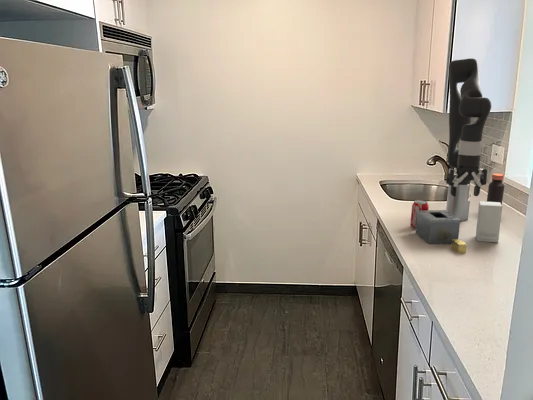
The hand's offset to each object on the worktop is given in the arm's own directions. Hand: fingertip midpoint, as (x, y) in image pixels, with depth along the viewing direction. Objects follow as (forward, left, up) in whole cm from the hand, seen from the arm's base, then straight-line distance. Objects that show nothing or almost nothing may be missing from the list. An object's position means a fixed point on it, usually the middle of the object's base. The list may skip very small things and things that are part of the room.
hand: (464, 195), depth 173 cm
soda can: (+5, -28, -22) cm, 36 cm away
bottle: (-39, -46, -22) cm, 64 cm away
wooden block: (0, 0, -22) cm, 22 cm away
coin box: (+3, -14, -22) cm, 26 cm away
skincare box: (-17, -11, -22) cm, 30 cm away
